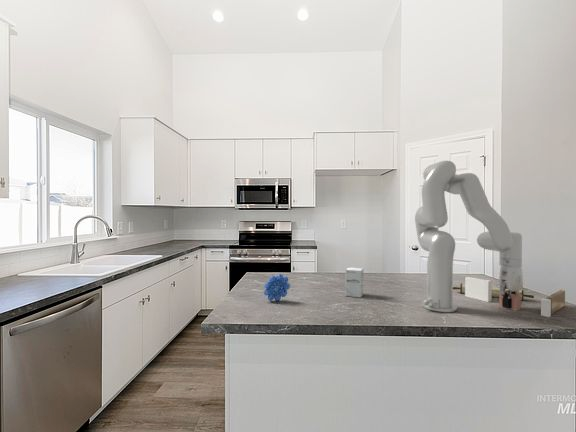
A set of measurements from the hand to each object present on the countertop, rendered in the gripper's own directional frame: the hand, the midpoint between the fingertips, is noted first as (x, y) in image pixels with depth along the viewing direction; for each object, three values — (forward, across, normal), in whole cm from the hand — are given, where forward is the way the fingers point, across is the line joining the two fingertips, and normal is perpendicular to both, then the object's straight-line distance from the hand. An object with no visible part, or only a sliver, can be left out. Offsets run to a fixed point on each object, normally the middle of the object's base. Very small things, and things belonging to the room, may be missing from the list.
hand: (510, 306), depth 130 cm
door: (+1, +13, -11) cm, 17 cm away
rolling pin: (+1, +12, +13) cm, 18 cm away
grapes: (+1, -77, +59) cm, 97 cm away
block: (+1, 0, 0) cm, 1 cm away
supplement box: (+1, -41, +48) cm, 63 cm away
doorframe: (+1, +2, +3) cm, 4 cm away
